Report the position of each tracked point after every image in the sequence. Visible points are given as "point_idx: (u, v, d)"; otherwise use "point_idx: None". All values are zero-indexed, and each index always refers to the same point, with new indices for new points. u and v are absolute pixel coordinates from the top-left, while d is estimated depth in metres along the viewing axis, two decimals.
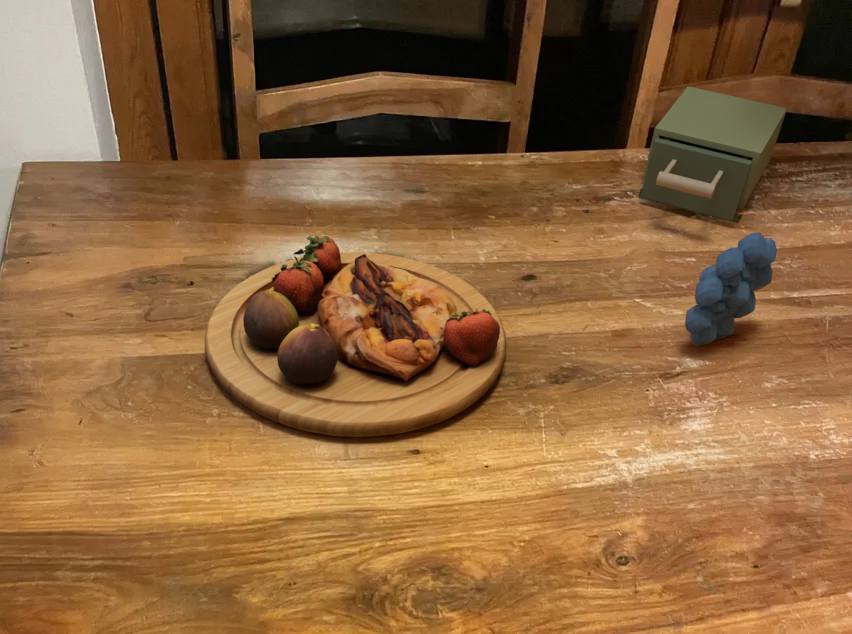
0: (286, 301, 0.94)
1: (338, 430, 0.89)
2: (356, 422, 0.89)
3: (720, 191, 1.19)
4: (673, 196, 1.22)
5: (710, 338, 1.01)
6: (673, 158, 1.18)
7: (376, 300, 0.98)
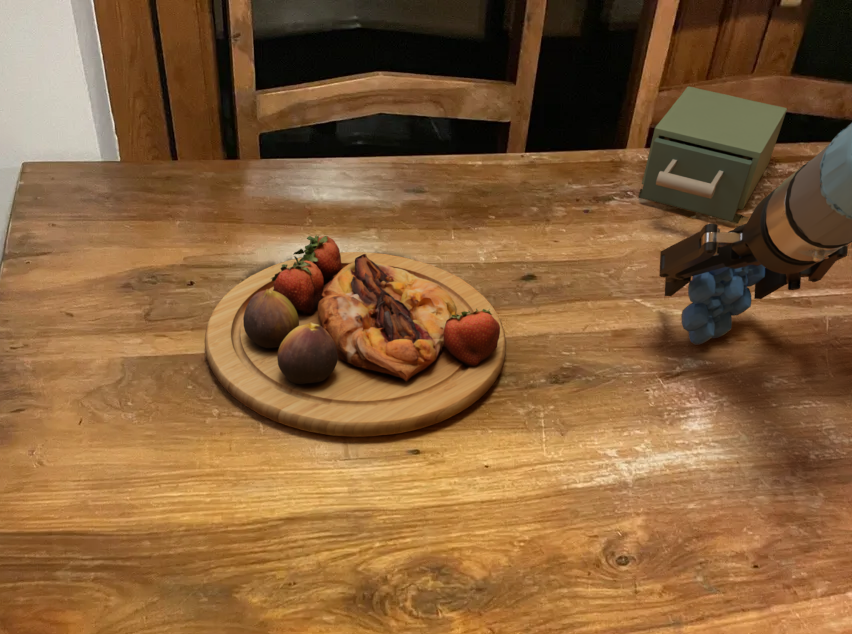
0: (286, 301, 0.94)
1: (338, 430, 0.89)
2: (356, 422, 0.89)
3: (720, 191, 1.19)
4: (673, 196, 1.22)
5: (708, 335, 1.01)
6: (673, 158, 1.18)
7: (376, 300, 0.98)
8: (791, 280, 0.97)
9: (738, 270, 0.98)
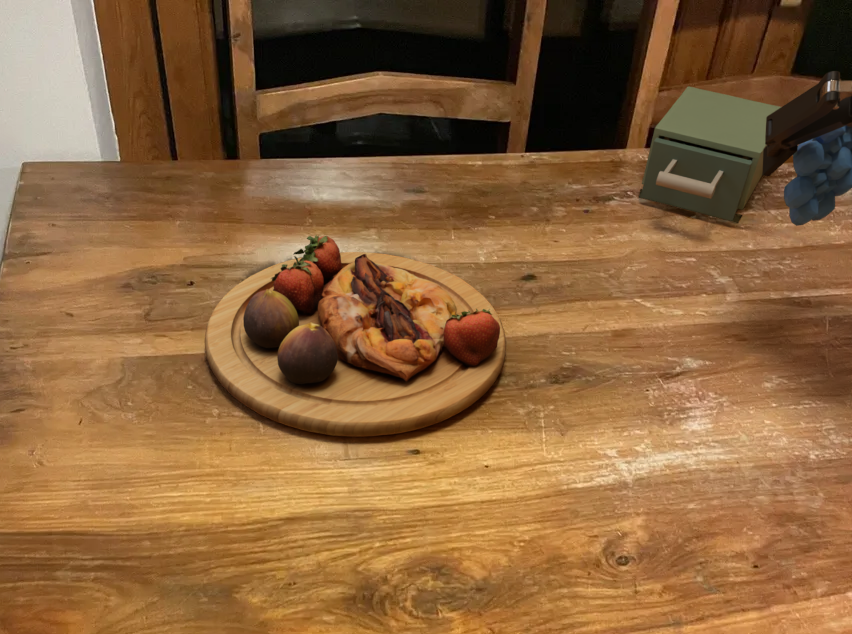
0: (286, 301, 0.94)
1: (338, 430, 0.89)
2: (356, 422, 0.89)
3: (720, 191, 1.19)
4: (673, 196, 1.22)
5: (812, 214, 0.95)
6: (673, 158, 1.18)
7: (376, 300, 0.98)
8: None
9: (847, 140, 0.92)
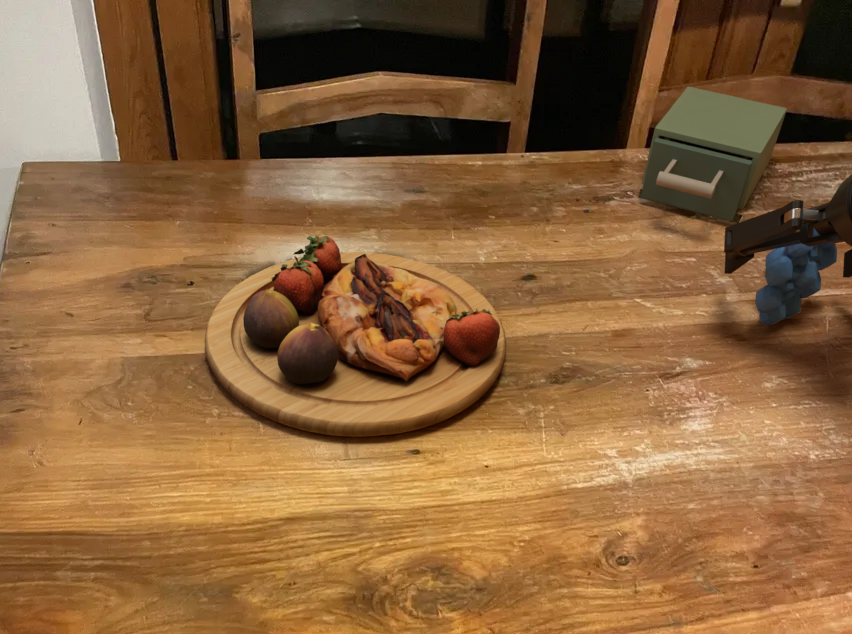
0: (286, 301, 0.94)
1: (338, 430, 0.89)
2: (356, 422, 0.89)
3: (720, 191, 1.19)
4: (673, 196, 1.22)
5: (779, 317, 1.04)
6: (673, 158, 1.18)
7: (376, 300, 0.98)
8: None
9: (814, 255, 1.01)
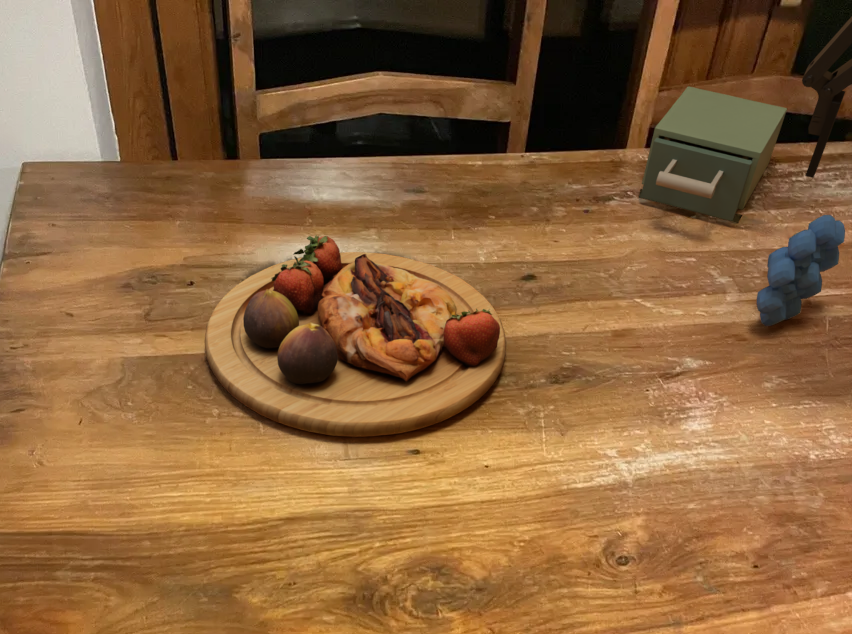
0: (286, 301, 0.94)
1: (338, 430, 0.89)
2: (356, 422, 0.89)
3: (720, 191, 1.19)
4: (673, 196, 1.22)
5: (780, 318, 1.04)
6: (673, 158, 1.18)
7: (376, 300, 0.98)
8: None
9: (816, 257, 1.01)
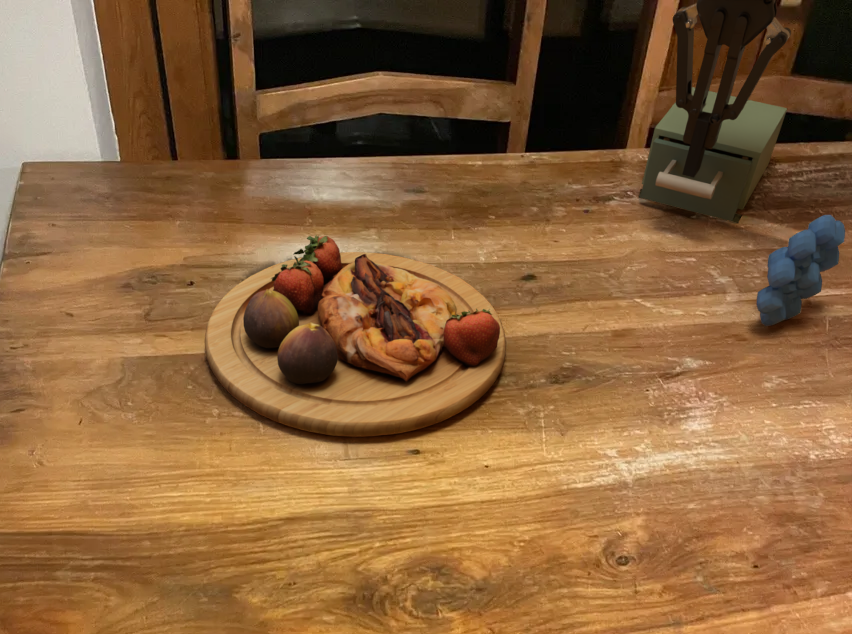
0: (286, 301, 0.94)
1: (338, 430, 0.89)
2: (356, 422, 0.89)
3: (719, 191, 1.18)
4: (673, 197, 1.22)
5: (780, 318, 1.04)
6: (673, 159, 1.18)
7: (376, 300, 0.98)
8: (714, 112, 1.08)
9: (816, 257, 1.01)
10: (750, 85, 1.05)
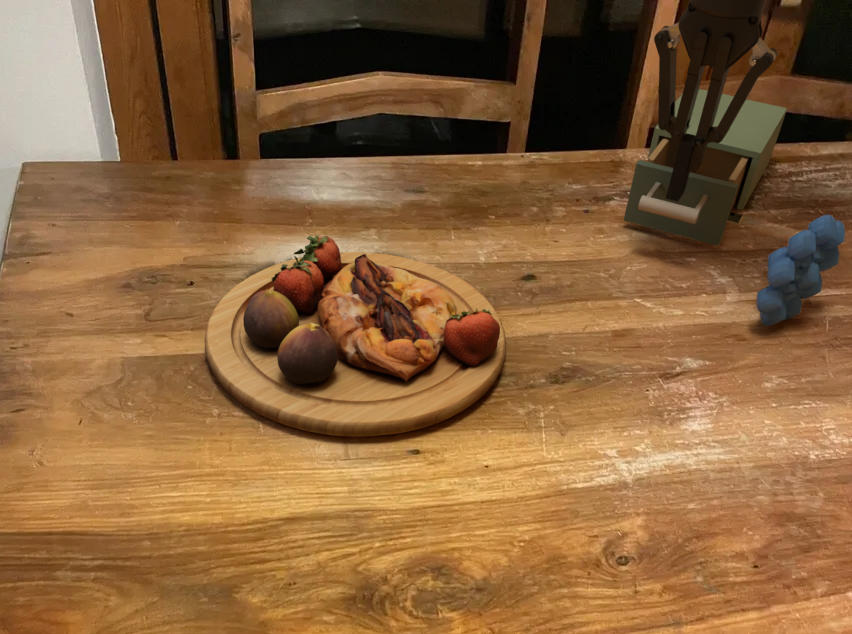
0: (286, 301, 0.94)
1: (338, 430, 0.89)
2: (356, 422, 0.89)
3: (705, 215, 1.14)
4: (657, 220, 1.17)
5: (780, 318, 1.04)
6: (656, 181, 1.14)
7: (376, 300, 0.98)
8: (698, 135, 1.04)
9: (816, 257, 1.01)
10: (735, 107, 1.00)
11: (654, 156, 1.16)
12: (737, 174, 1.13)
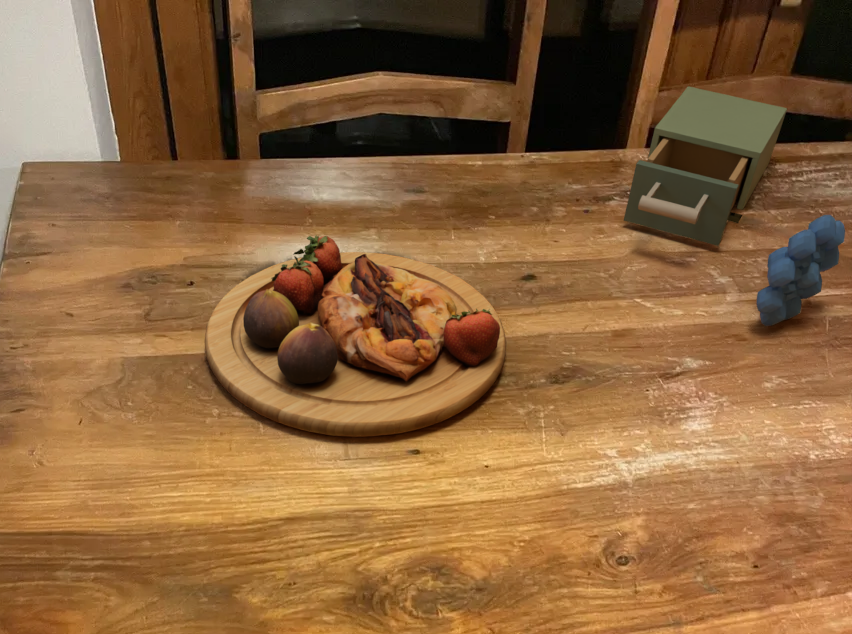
0: (286, 301, 0.94)
1: (338, 430, 0.89)
2: (356, 422, 0.89)
3: (705, 215, 1.14)
4: (657, 220, 1.17)
5: (780, 318, 1.04)
6: (656, 181, 1.14)
7: (376, 300, 0.98)
8: None
9: (816, 257, 1.01)
10: None
11: (654, 156, 1.16)
12: (737, 174, 1.13)
